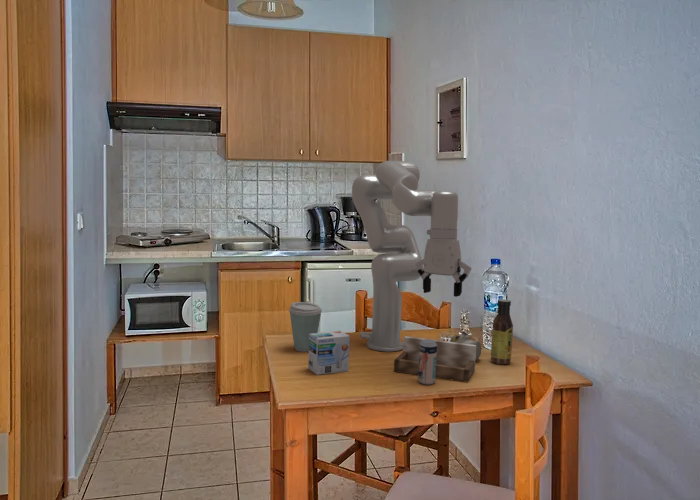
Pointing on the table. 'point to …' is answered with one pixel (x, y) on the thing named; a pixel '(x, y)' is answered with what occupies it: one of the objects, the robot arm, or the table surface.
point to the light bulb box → (328, 352)
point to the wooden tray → (439, 359)
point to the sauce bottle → (502, 334)
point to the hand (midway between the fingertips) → (441, 294)
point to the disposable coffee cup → (304, 323)
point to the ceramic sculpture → (467, 342)
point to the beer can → (427, 361)
